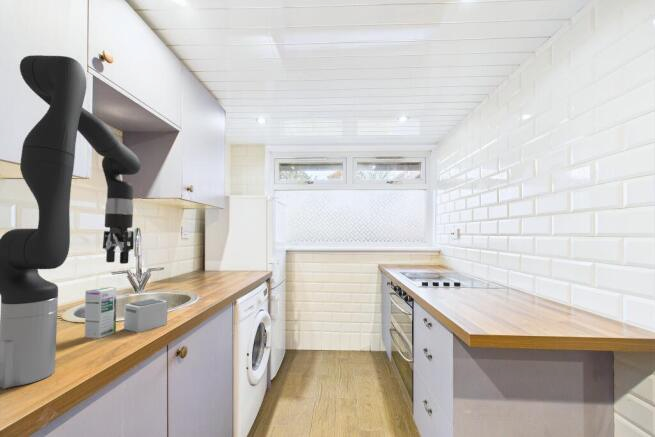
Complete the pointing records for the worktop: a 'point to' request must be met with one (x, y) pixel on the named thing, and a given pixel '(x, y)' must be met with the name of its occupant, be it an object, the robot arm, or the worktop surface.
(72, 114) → the robot arm
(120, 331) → the worktop surface
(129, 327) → the grey storage bin
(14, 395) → the worktop surface
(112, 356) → the worktop surface
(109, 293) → the syrup box
